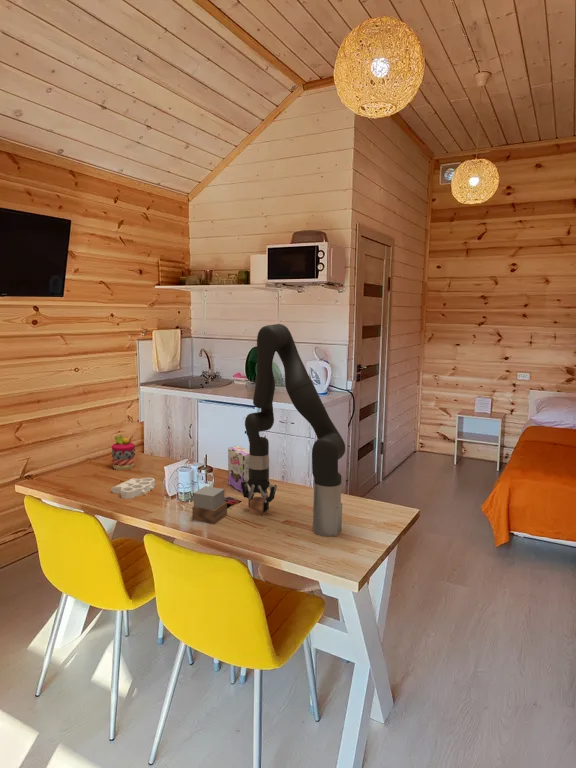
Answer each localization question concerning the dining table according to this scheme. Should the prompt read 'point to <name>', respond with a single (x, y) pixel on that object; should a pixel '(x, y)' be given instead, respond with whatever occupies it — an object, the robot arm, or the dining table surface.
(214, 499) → the tower top
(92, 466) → the dining table surface
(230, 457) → the candy box
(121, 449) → the cake
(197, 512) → the tower bottom
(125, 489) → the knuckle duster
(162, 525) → the dining table surface
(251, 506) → the terracotta cube
